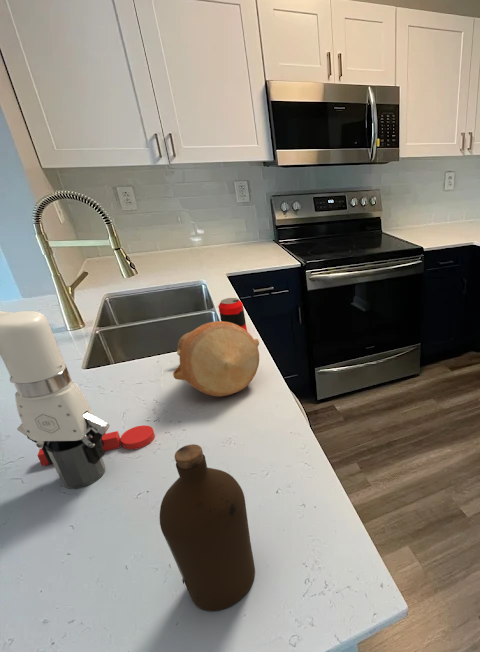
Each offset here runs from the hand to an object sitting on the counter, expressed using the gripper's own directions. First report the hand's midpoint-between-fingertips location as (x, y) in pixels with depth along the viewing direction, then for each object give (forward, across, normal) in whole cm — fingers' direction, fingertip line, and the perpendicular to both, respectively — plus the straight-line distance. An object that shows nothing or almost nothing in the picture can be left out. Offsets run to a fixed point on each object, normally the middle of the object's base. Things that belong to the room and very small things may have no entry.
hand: (77, 458), depth 81 cm
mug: (+4, 0, +2) cm, 5 cm away
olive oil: (+4, +35, -22) cm, 42 cm away
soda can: (+4, +10, +66) cm, 67 cm away
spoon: (+4, -1, +8) cm, 9 cm away
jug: (+4, +14, +37) cm, 40 cm away
